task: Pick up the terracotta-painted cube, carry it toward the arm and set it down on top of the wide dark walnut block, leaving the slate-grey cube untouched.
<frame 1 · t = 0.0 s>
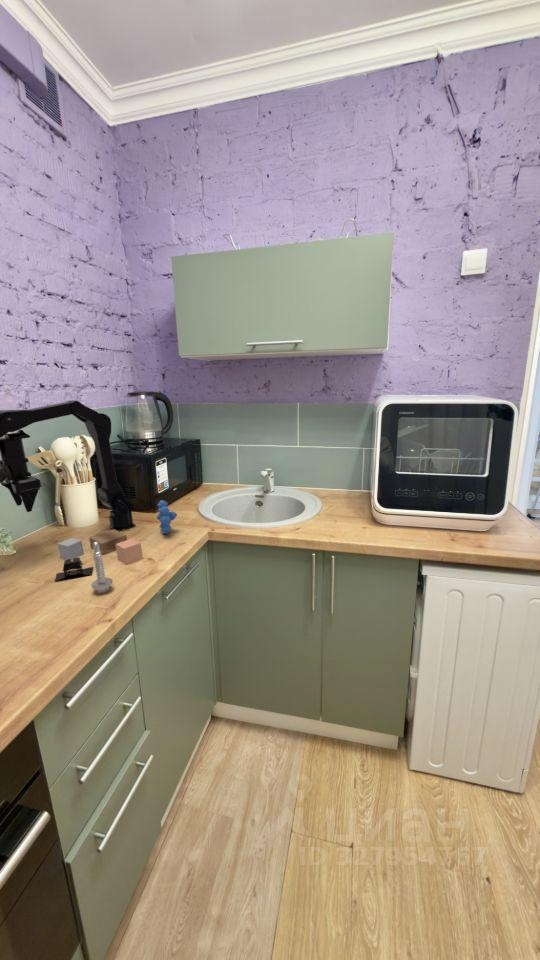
hand: (24, 508, 115), 15 cm above the worktop, fingers open, 9 cm apart
grapes: (168, 533, 132), on the worktop
screw: (103, 591, 97), on the worktop
walnut block: (109, 548, 123), on the worktop
slate cube: (72, 556, 118), on the worktop
terracotta cube: (130, 559, 114), on the worktop
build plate: (74, 577, 106), on the worktop
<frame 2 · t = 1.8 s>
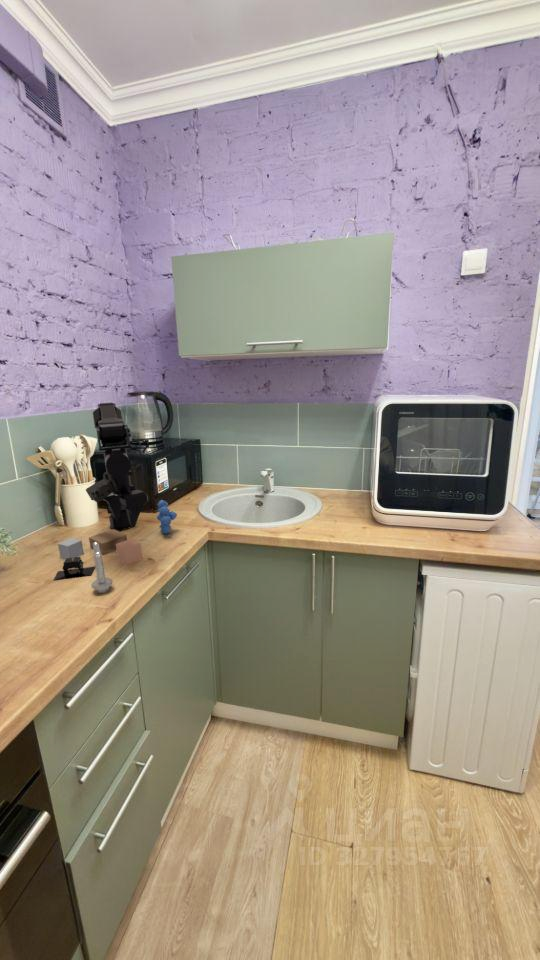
hand: (125, 522, 111), 11 cm above the worktop, fingers open, 9 cm apart
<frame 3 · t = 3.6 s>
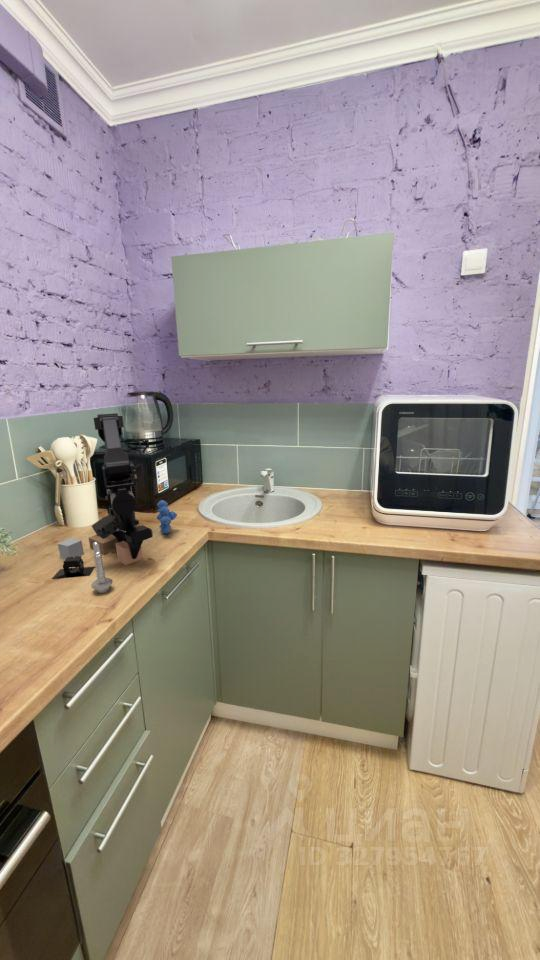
hand: (129, 555, 114), 1 cm above the worktop, fingers closed on terracotta cube, 5 cm apart
terracotta cube: (130, 559, 114), on the worktop, touching gripper
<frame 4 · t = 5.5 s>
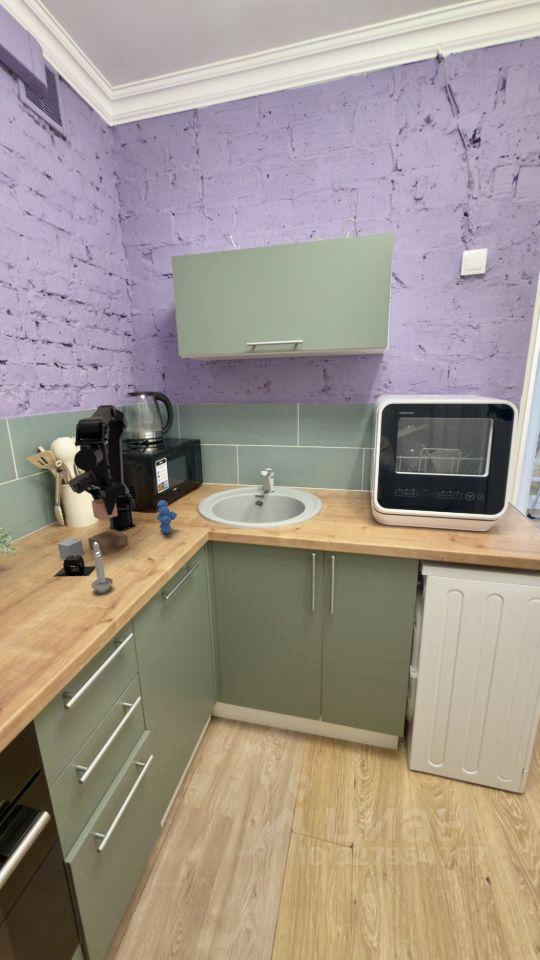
hand: (105, 512, 119), 11 cm above the worktop, fingers closed on terracotta cube, 5 cm apart
terracotta cube: (105, 516, 120), point 10 cm above the worktop, touching gripper
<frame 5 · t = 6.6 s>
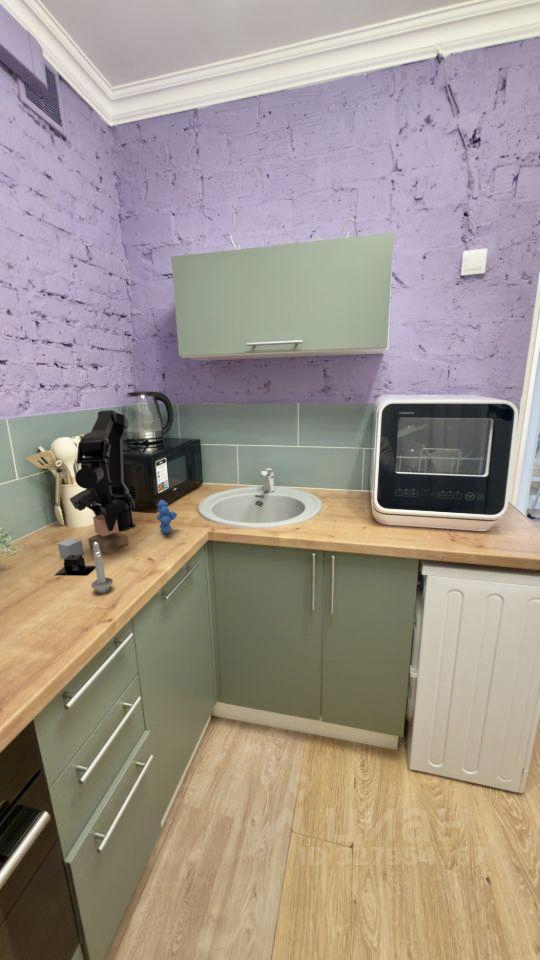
hand: (106, 528, 121), 6 cm above the worktop, fingers closed on terracotta cube, 5 cm apart
terracotta cube: (107, 531, 121), point 5 cm above the worktop, touching gripper
when the fingers open (6 cm above the worktop, at t = 7.3 s): terracotta cube drops 1 cm, resting on walnut block.
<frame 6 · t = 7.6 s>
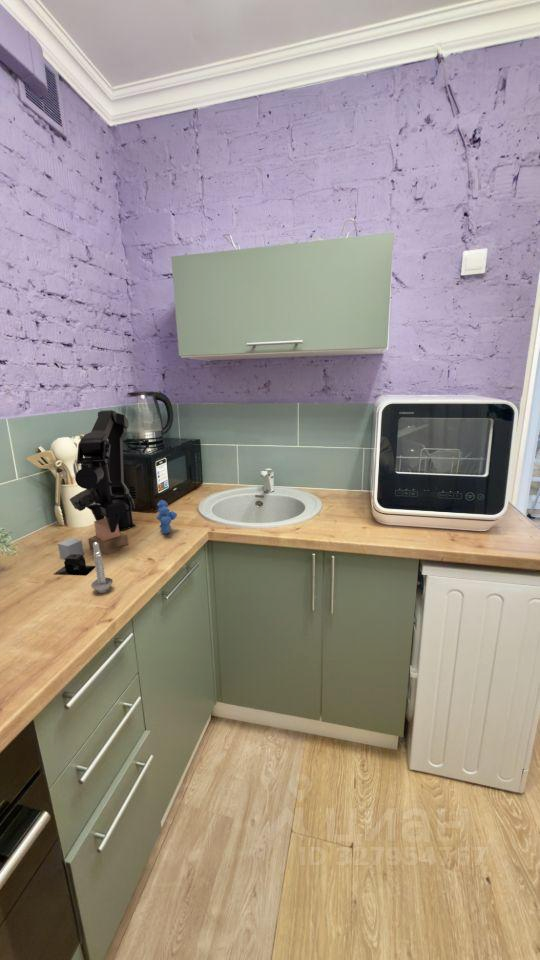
hand: (106, 528, 121), 6 cm above the worktop, fingers open, 8 cm apart
walnut block: (109, 548, 123), on the worktop, touching terracotta cube
terracotta cube: (108, 536, 122), point 4 cm above the worktop, touching walnut block
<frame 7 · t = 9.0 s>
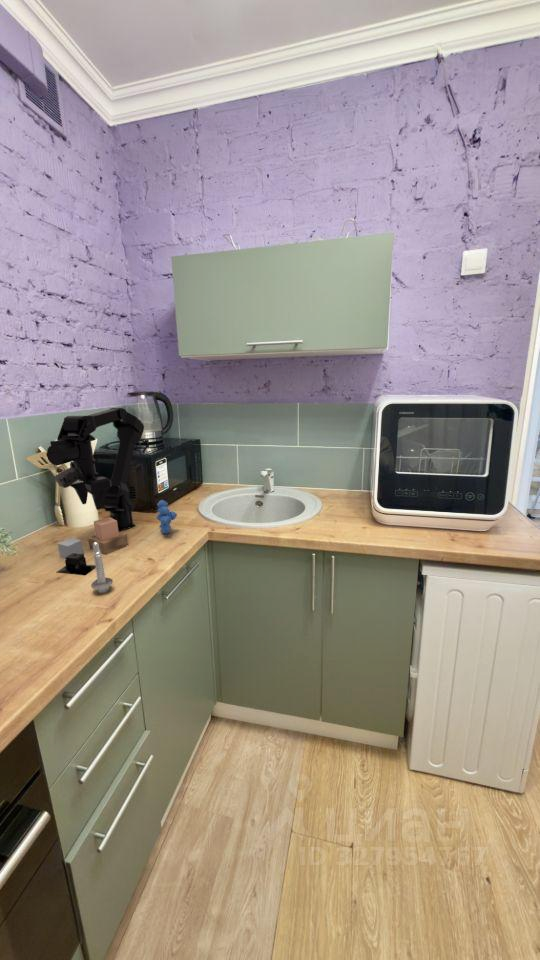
hand: (91, 506, 124), 12 cm above the worktop, fingers open, 9 cm apart
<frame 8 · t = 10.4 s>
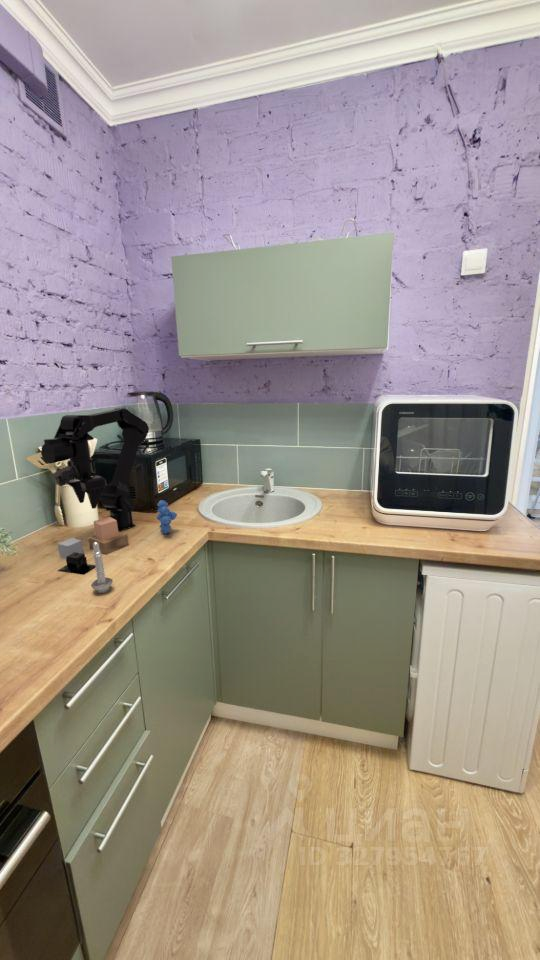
hand: (87, 505, 125), 12 cm above the worktop, fingers open, 9 cm apart
at the end: terracotta cube 0.2 cm off-centre on the walnut block, point 4.0 cm above the walnut block's base; terracotta cube tilted 0°; the gripper is holding nothing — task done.
